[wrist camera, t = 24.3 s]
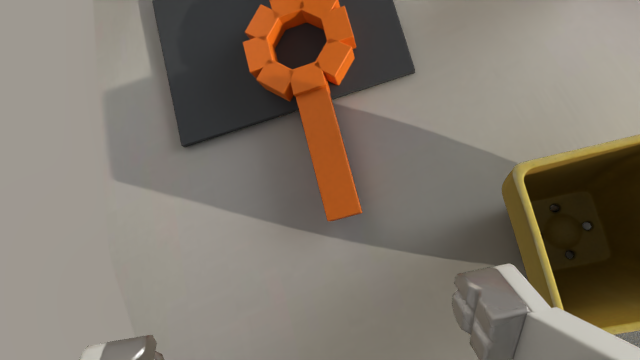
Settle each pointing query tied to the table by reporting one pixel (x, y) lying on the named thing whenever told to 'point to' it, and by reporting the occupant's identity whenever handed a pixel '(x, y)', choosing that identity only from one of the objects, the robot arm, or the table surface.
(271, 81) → the orange ring
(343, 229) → the table surface
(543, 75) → the table surface
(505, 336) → the robot arm
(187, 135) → the mat
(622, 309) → the flower pot
